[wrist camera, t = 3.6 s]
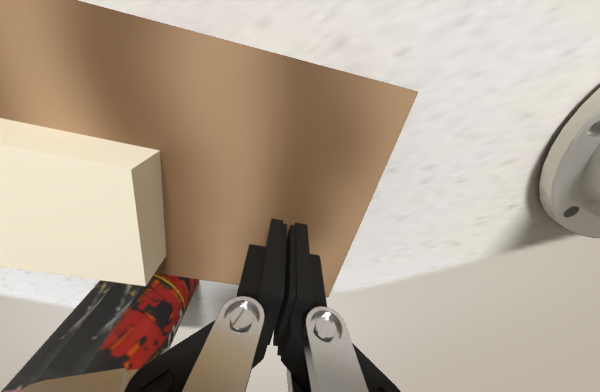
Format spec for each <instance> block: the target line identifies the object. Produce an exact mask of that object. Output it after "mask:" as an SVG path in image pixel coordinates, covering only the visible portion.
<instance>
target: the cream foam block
mask: <svg viewBox="0 0 600 392" xmlns="http://www.w3.org/2000/svg"><path fill="white" fill-rule="evenodd" d="M165 257H166V242H165V226H164V209H163V192H162V175H161V158H160V150H155V149H150V148H145V147H140V146H135V145H131V144H126V143H121V142H116V141H111V140H106V139H101V138H96V137H91V136H86V135H81V134H76V133H72V132H67V131H62V130H57V129H52V128H47V127H42V126H37V125H32V124H27V123H22V122H17V121H12V120H8V119H3V118H0V267H6V268H13V269H21V270H28V271H36V272H43V273H51V274H58V275H66V276H73V277H80V278H88V279H95V280H103V281H110V282H118V283H125V284H133V285H140V286H146V285H147V284H148V282H149V281H150V279H151V278H152V276H153V275H154V273H155V272H156V270H157V269H158V267H159V266H160V264H161V263H162V261H163V260H164V258H165Z"/></svg>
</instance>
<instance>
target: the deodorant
mask: <svg viewBox="0 0 600 392" xmlns="http://www.w3.org/2000/svg"><path fill="white" fill-rule="evenodd" d="M198 280H199V279H193V278H186V277H179V276H172V275H165V274H158V273H154V275H153V276H152V278H151V279H150V281H149V282H148V284H147V285H146V286H140V285H133V284H125V283H118V282H110V281H103V280H100V281H99V282H98V284H97V285H96V286H95V287H94V288H93V289H92V290H91V291H90V293H89V294H88V295H87V296H86V297H85V298H84V299H83V300H82V301H81V303H80V304H79V305H78V306H77V307H76V308H75V309H74V310H73V312H72V313H71V314H70V315H69V316H68V317H67V318H66V320H65V321H64V322H63V323H62V324H61V325H60V326H59V327H58V328H57V330H56V331H55V332H54V333H53V334H52V335H51V336H50V337H49V339H48V340H47V341H46V342H45V343H44V344H43V345H42V347H41V348H40V349H39V350H38V351H37V352H36V353H35V354H34V355H33V357H32V358H31V359H30V360H29V361H28V362H27V363H26V364H25V366H24V367H23V368H22V369H21V370H20V371H19V372H18V373H17V375H16V376H15V377H14V378H13V379H12V380H11V381H10V382H9V384H8V385H7V386H6V387H5V388H4V389H3V390H2V391H1V392H18V391H20V390H22V389H23V388H25V387H27V386H29V385H31V384H34V383H37V382H40V381H44V380H50V379H56V378H63V377H69V376H76V375H82V374H89V373H95V372H102V371H108V370H115V369H121V368H126V369H127V371H129V370H135V369H141V368H142V367H143V366H144V365H146V364H147V363H149V362H150V361H152V360H153V359H155V358H156V357H158V356H160V355H161V354H163V353H164V352H166V351H167V350H169V348H170V346H171V343H172V341H173V338H174V336H175V334H176V332H177V330H178V327H179V325H180V323H181V321H182V318H183V316H184V314H185V311H186V309H187V307H188V305H189V302H190V300H191V298H192V296H193V293H194V291H195V289H196V286H197V284H198Z"/></svg>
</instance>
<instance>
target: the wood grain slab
mask: <svg viewBox="0 0 600 392" xmlns="http://www.w3.org/2000/svg"><path fill="white" fill-rule="evenodd" d="M417 94H418V91H414V90H410V89H407V88H403V87H399V86H395V85H392V84H388V83H384V82H381V81H377V80H373V79H369V78H366V77H362V76H358V75H354V74H351V73H347V72H343V71H339V70H336V69H332V68H328V67H324V66H321V65H317V64H313V63H309V62H306V61H302V60H298V59H295V58H291V57H287V56H283V55H280V54H276V53H272V52H268V51H265V50H261V49H257V48H253V47H250V46H246V45H242V44H238V43H235V42H231V41H227V40H223V39H220V38H216V37H212V36H209V35H205V34H201V33H197V32H194V31H190V30H186V29H182V28H179V27H175V26H171V25H167V24H164V23H160V22H156V21H152V20H149V19H145V18H141V17H137V16H134V15H130V14H126V13H123V12H119V11H115V10H111V9H108V8H104V7H100V6H96V5H93V4H89V3H85V2H81V1H78V0H0V118H3V119H8V120H12V121H17V122H22V123H27V124H32V125H37V126H42V127H47V128H52V129H57V130H62V131H67V132H72V133H76V134H81V135H86V136H91V137H96V138H101V139H106V140H111V141H116V142H121V143H126V144H131V145H135V146H140V147H145V148H150V149H155V150H160V158H161V175H162V192H163V209H164V226H165V242H166V257H165V258H164V260H163V261H162V263H161V264H160V266H159V267H158V269H157V270H156V272H155V273H158V274H165V275H172V276H179V277H186V278H193V279H200V280H207V281H215V282H222V283H229V284H236V285H239V284H240V280H241V276H242V272H243V268H244V264H245V260H246V255H247V251H248V247H249V244H252V245H259V246H266V242H267V237H268V232H269V227H270V222H271V218H273V219H279V220H283V223H284V224H287V235H288V231H289V228H290V225H295V223H302V224H307V226H308V238H309V250H310V254H315V255H319V256H320V259H321V266H322V274H323V281H324V289H325V296H326V297H329V294H330V292H331V290H332V288H333V285H334V283H335V281H336V278H337V276H338V274H339V272H340V269H341V267H342V265H343V262H344V260H345V258H346V256H347V253H348V251H349V249H350V247H351V244H352V242H353V240H354V237H355V235H356V233H357V231H358V228H359V226H360V224H361V221H362V219H363V217H364V215H365V212H366V210H367V208H368V206H369V203H370V201H371V199H372V196H373V194H374V192H375V190H376V187H377V185H378V183H379V180H380V178H381V176H382V174H383V171H384V169H385V167H386V164H387V162H388V160H389V158H390V155H391V153H392V151H393V149H394V146H395V144H396V142H397V139H398V137H399V135H400V133H401V130H402V128H403V126H404V123H405V121H406V119H407V117H408V114H409V112H410V110H411V107H412V105H413V103H414V101H415V98H416V96H417Z"/></svg>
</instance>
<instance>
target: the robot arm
mask: <svg viewBox="0 0 600 392" xmlns="http://www.w3.org/2000/svg"><path fill="white" fill-rule="evenodd" d="M539 191H540V200H541V203H542V206H543V209H544V210H545V212H546V213H547V214H548V215H549V217H550V218H551V219H552V220H554V221H556V222H557V223H559V224H560V225H562V226H563V227H565V228H566V229H568V230H570V231H572V232H574V233H576V234H578V235H583V236H588V237H592V238H600V88H599V89H598V90H596V91H595V92H594V93H593V94H592V95H591V96H590V97H589V98H588V99H587V100H586V101H585V102H584V103H583V104H582V105H581V106H580V108H579V109H578V110H577V111H576V112H575V114H574V115H573V116H572V117H571V119H570V120H569V121H568V122H567V123H566V125H565V126H564V127H563V129H562V130H561V132H560V134H559V135H558V137H557V138H556V140H555V142H554V143H553V145H552V146H551V149H550V151H549V153H548V156H547V158H546V160H545V163H544V165H543V169H542V173H541V178H540V182H539ZM273 331H274V340H273V345H274V346H278V355H280V356H281V361H282V362H283V363H284V365H285V366H286V367H287V381H288V391H289V392H400V390H399V389H398V388H397V387H396V386H395V385H394V384H393V383H392V382H391V381H390V380H389V379H388V378H387V377H386V376H385V375H384V374H383V373H382V372H381V371H380V370H379V369H378V368H377V367H376V366H375V365H374V364H373V363H372V362H371V361H370V360H369V359H368V358H367V357H366V356H365V355H364V354H363V353H362V352H361V351H360V350H359V349H358V348H357V347H356V346H355V345H354V344H353V343H352V341H351V338H350V335H349V333H348V330H347V327H346V324H345V322H344V320H343V318H342V317H341V316H340V315H339V314H338V313H337V312H336V311H334V310H333V309H330V308H328V307H327V304H326V296H325V289H324V281H323V274H322V266H321V259H320V256H319V255H315V254H310V250H309V238H308V226H307V224H302V223H295V225H290V228H289V231H288V235H287V224H284V223H283V220H279V219H273V218H271V222H270V227H269V232H268V237H267V242H266V246H259V245H252V244H249V247H248V251H247V255H246V260H245V264H244V268H243V272H242V276H241V280H240V284H239V288H238V292H237V296H236V297H235V298H233V299H231V300H229V301H228V302H227V303H225V304H224V306H223V307H222V309H221V310H220V312H219V314H218V317H217V319H216V320H215V321H213V322H212V323H210V324H208V325H207V326H205V327H204V328H202V329H201V330H199V331H198V332H196V333H194V334H193V335H191V336H190V337H188V338H187V339H185V340H183V341H182V342H180V343H179V344H177V345H175V346H174V347H172V348H171V349H169V350H167V351H166V352H164V353H163V354H161V355H160V356H158V357H156V358H155V359H153V360H152V361H150V362H149V363H147V364H146V365H144V366H143V367H142V368H141V369H135V370H129V371H127V369H126V368H121V369H115V370H108V371H102V372H95V373H89V374H82V375H76V376H69V377H63V378H56V379H50V380H44V381H40V382H37V383H34V384H31V385H29V386H27V387H25V388H23V389H22V390H20V391H18V392H245V391H246V388H247V384H248V380H249V377H250V373H251V369H252V368H253V367H255V366H256V365H257V364H258V363H259V362H260V361H261V360H262V359H263V358H264V355H265V352H266V348H267V345H269V344H270V341H271V338H272V334H273Z"/></svg>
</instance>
